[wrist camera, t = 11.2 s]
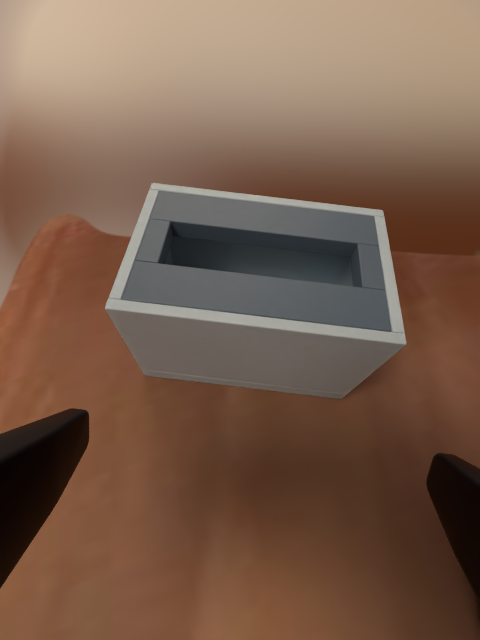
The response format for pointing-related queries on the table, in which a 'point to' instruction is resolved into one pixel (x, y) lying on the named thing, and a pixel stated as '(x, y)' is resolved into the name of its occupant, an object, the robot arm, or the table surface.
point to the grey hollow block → (257, 292)
